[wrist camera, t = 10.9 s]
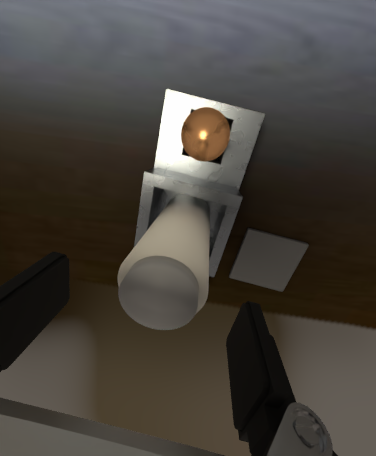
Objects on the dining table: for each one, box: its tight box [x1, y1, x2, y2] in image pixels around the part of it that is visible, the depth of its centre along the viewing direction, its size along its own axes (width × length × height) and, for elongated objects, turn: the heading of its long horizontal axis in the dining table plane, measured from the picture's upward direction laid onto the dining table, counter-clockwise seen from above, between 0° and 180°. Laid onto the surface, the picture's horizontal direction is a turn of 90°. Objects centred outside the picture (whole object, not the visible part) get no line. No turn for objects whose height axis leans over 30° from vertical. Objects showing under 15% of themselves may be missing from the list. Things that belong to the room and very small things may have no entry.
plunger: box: [181, 107, 230, 161], centre depth 18 cm, size 4×4×8 cm
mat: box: [229, 228, 309, 292], centre depth 27 cm, size 8×8×1 cm
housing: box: [134, 89, 265, 277], centre depth 21 cm, size 22×9×8 cm, turn 167°
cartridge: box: [118, 194, 210, 330], centre depth 16 cm, size 5×5×13 cm
